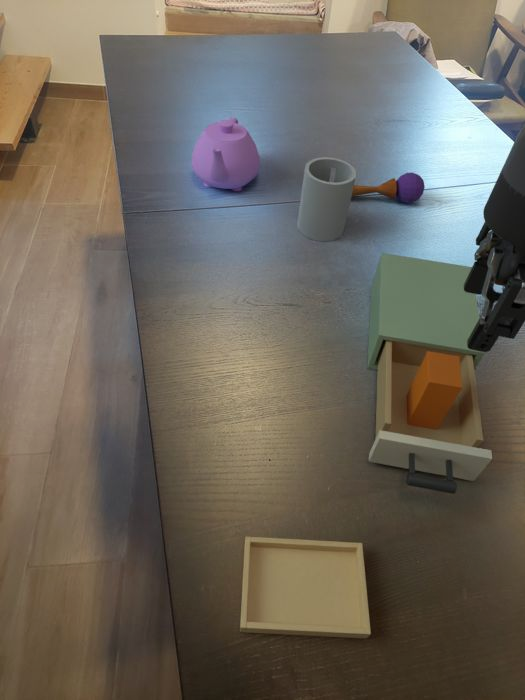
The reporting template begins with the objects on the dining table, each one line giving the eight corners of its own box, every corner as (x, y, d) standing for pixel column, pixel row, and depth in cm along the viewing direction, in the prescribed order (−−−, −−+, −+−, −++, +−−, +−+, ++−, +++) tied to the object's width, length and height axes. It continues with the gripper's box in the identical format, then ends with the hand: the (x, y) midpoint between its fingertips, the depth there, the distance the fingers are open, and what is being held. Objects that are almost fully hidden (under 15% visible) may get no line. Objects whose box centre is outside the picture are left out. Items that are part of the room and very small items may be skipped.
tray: (358, 549, 59) (362, 542, 57) (366, 638, 53) (371, 634, 51) (244, 542, 58) (245, 536, 57) (239, 632, 52) (240, 627, 51)
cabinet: (464, 385, 76) (485, 352, 70) (367, 368, 77) (379, 334, 71) (455, 301, 88) (472, 266, 82) (371, 287, 89) (381, 252, 83)
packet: (437, 430, 68) (462, 387, 61) (407, 424, 68) (429, 381, 61) (435, 399, 71) (459, 356, 64) (406, 394, 71) (427, 350, 64)
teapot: (249, 212, 101) (252, 154, 92) (179, 202, 102) (175, 144, 92) (265, 161, 114) (269, 106, 105) (203, 153, 115) (201, 97, 105)
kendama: (325, 172, 105) (421, 167, 106) (324, 200, 109) (416, 195, 109) (330, 182, 100) (430, 178, 101) (328, 211, 104) (425, 206, 105)
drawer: (477, 512, 62) (497, 491, 57) (367, 491, 63) (378, 469, 58) (462, 374, 76) (477, 349, 71) (372, 359, 77) (381, 333, 72)
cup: (303, 243, 96) (312, 185, 86) (292, 214, 101) (299, 158, 92) (349, 239, 97) (363, 183, 88) (336, 212, 103) (347, 156, 94)
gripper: (622, 238, 36) (518, 378, 48) (583, 142, 45) (505, 280, 57) (512, 219, 36) (438, 362, 49) (496, 128, 46) (437, 268, 58)
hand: (474, 318), depth 53 cm, fingers open, 8 cm apart
